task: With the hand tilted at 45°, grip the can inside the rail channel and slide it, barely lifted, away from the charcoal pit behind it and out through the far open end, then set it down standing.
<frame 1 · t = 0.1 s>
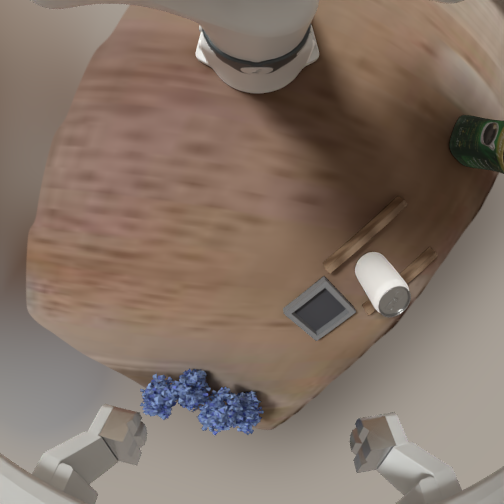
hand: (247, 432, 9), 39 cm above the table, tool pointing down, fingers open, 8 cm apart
coffee jar: (463, 140, 38), on the table
decorative sculpture: (207, 384, 63), on the table
rail channel: (382, 256, 48), on the table
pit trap: (319, 307, 53), on the table
can: (369, 266, 49), on the table
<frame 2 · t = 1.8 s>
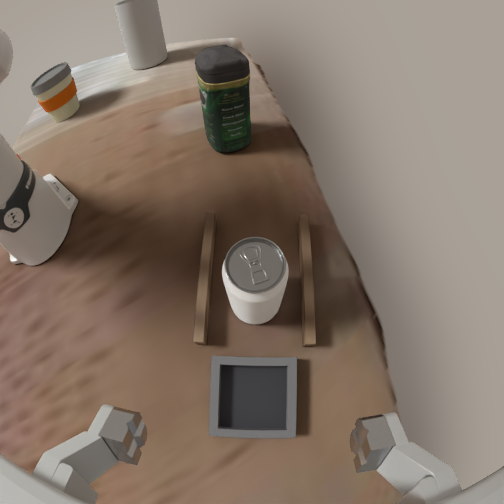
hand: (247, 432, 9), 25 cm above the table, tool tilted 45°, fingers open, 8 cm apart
coffee jar: (228, 138, 51), on the table
reusable coffee cup: (67, 112, 61), on the table
cylinder vase: (149, 62, 71), on the table
rail channel: (256, 279, 38), on the table
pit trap: (253, 397, 31), on the table
can: (255, 301, 37), on the table
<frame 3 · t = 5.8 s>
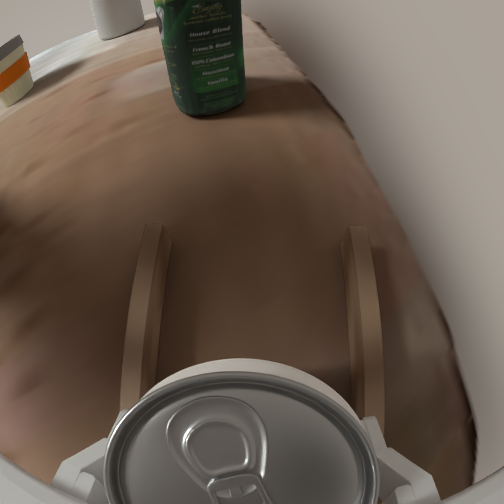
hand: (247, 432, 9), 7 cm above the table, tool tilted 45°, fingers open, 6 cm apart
coffee jar: (209, 97, 29), on the table
reusable coffee cup: (19, 95, 39), on the table
cylinder vase: (122, 31, 49), on the table
rail channel: (252, 376, 16), on the table
can: (251, 423, 14), on the table, touching gripper
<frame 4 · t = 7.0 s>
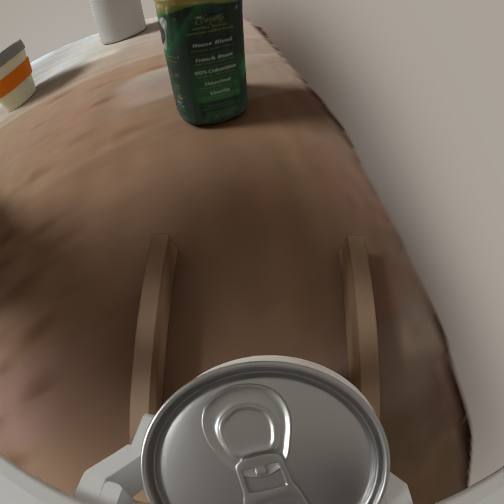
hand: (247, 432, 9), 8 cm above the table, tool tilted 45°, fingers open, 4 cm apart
coffee jar: (211, 105, 30), on the table
reusable coffee cup: (21, 100, 41), on the table
cylinder vase: (124, 36, 50), on the table
rail channel: (255, 379, 16), on the table
can: (277, 429, 15), on the table
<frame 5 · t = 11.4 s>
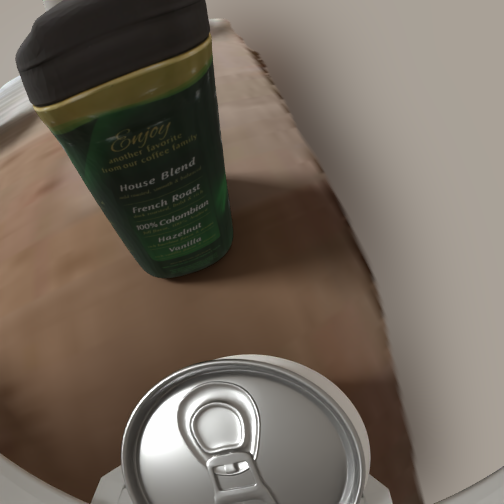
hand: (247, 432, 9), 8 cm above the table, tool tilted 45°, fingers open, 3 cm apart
coffee jar: (181, 224, 22), on the table
can: (286, 431, 14), on the table, touching gripper
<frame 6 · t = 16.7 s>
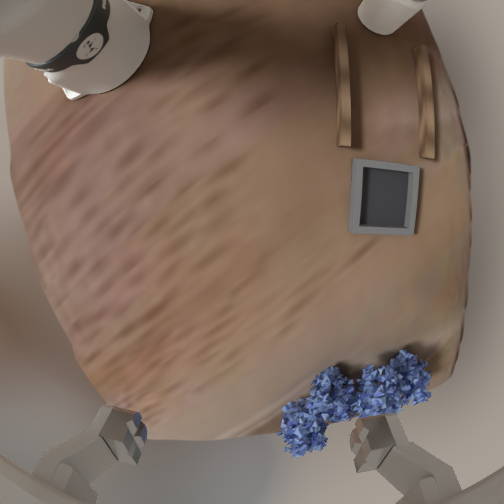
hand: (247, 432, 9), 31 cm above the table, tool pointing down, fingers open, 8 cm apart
decorative sculpture: (349, 379, 47), on the table
rail channel: (383, 91, 31), on the table
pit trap: (382, 196, 36), on the table
can: (375, 19, 27), on the table
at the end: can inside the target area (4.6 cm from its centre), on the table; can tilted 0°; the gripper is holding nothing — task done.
